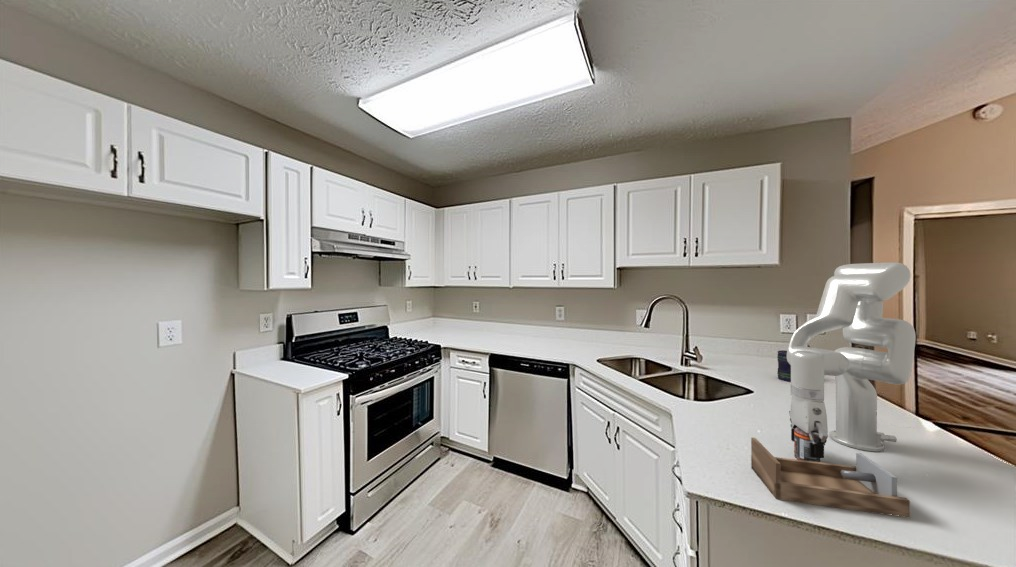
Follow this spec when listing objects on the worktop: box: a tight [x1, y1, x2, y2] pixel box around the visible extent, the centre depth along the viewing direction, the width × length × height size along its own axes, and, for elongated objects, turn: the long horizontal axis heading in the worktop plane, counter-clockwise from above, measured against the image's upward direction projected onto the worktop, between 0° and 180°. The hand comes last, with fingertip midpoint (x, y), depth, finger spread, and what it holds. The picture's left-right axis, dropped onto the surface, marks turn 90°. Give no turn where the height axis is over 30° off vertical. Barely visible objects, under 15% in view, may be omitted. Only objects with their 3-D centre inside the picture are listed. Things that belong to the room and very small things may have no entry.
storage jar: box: [776, 349, 791, 383], centre depth 178 cm, size 10×10×15 cm
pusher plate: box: [841, 452, 898, 497], centre depth 84 cm, size 7×11×7 cm, turn 164°
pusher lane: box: [750, 437, 911, 518], centre depth 86 cm, size 26×14×9 cm, turn 74°
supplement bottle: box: [793, 427, 822, 462], centre depth 100 cm, size 6×6×11 cm
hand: (806, 449), depth 100 cm, fingers open, 9 cm apart
